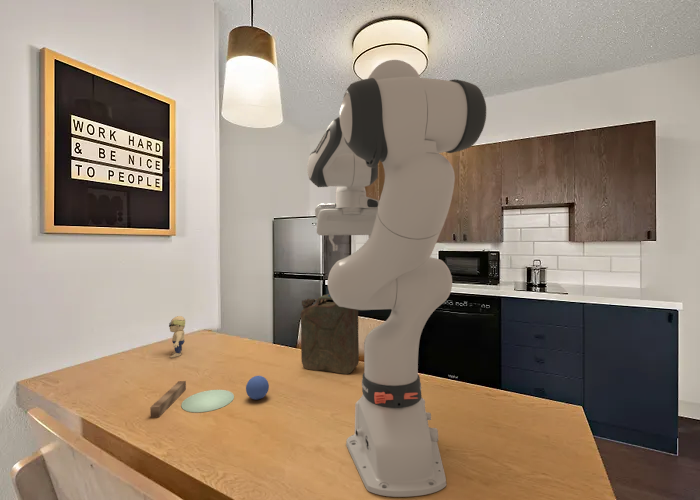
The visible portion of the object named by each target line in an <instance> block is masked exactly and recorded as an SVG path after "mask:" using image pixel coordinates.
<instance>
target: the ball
mask: <svg viewBox="0 0 700 500" xmlns="http://www.w3.org/2000/svg"><path fill="white" fill-rule="evenodd" d="M269 389H270V384H269V381H268V379H267V378H265V377H264V376H263V375H255V376H253V377H251V378H250V379H249V380H248V381H247V383H246V385H245V391H246V394H247V396H248V397H249V398H250V399H252V400H256V401H257V400H261V399H263V398H264V397H265V396H266V395H267V394H268V392H269Z"/></svg>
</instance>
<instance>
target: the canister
mask: <svg viewBox="0 0 700 500" xmlns="http://www.w3.org/2000/svg"><path fill="white" fill-rule="evenodd" d="M328 300H330V301H328ZM314 303H315V304H314ZM301 306H302V310H301V312H300V328H301V329H300V347H301V348H300V349H301V351H300V352H301V354H300V355H301V364H302V366H303V368H305V369H306V370H311V371H320V372H321V371H324V372H330V373H335V374H343V375H347V374H348V375H349V374H351V373H352V372H353V371H354V370H355V369H356V368H357V367H358V365H359V362H360V361H359V360H360V356H359V355H360V353H359V352H360V351H359V350H360V349H359V346H360V345H359V310H357V309H350V308H344V307H339V306H338V305H337V304H336V303H335V302H334V301H333V299H332V298H331V296H330V293H327V294H323V295H321V296H318V298H315V299H314V298H307V299H304V300H301Z"/></svg>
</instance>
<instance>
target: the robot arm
mask: <svg viewBox="0 0 700 500" xmlns="http://www.w3.org/2000/svg"><path fill="white" fill-rule="evenodd" d="M342 98H343V99H342V102H341V105H340V110H339V116H338V117H336V118H335V119H333V120H332V121H331V122H330V123H329V125H328V126H327V128H326V130H325V132H324V134H323V135H322V137H321V139H320V141H319V142H318V144H317V146H316V148H314V149H313V150H312V152H311V153H310V154H309V157H308V159H307V175H308V179H309V181H311V183H312V184H314V185H315V186H316V187H318V188H328V187H336V190H335V203H332V202H331V203H324V202H322V203H320V204H318V205H317V206H316V207H315V209H314V211H315V212H314V214H315V217H316V219H317V221H316V234H317V235H318V236H328V240H329V242H330V244H331V245H332V252H338V251H339V244H336V243H335V242H334V241H333V240H334V238H335V236H368V239H367V240H366V241H365V243H364V244H363V245H361V247H360V248H358V249H357V250H355V252H353V253H352V254H350V255H348V256H346V257H343V258H341V259H339V260H337V261H336V262H335V263H334V265H333V266H332V267H331V269H330V270H329V273H328V276H327V277H328V278H327V289H328V294H330V296H331V298H332V299H333V300H332V302H335V303H336V304H337V305H338V306H339V307H344V308H350V309H357V310H358V311H371V310H372V311H373V310H374V311H375V310H391V312H390V314H389V316H388V318H387V319H386V320H385V321H383V323H381V324H379V325H377V326H375V327H374V328H373V329H371V330H370V331H369V332H368V334H367V335H366V336H365V339H364V342H363V349H364V350H363V351H364V352H363V355H364V357H363V358H364V359H363V360H364V361H363V364H364V367H363V368H364V369H363V370H364V371H363V373H362V377H361V378H362V379H361V387H362V389H361V391H362V395H361V397H360V398H359V399H358V400H357V401H356V402H355V404H354V405H355V406H354V407H355V409H354V410H355V411H354V434H352V435H350V436H348V437H347V438H346V442H345V446H346V448H347V450H348V452H349V454H350V456H351V458H352V460H353V463H354V465H355V468H356V469H357V471H358V474H359V476H360V478H361V480H362V482H363V485H364V487H365V489H366V490H367V491H368V492H370V493H372V494H376V495H380V496H384V497H385V496H386V497H394V498H395V497H396V498H397V497H398V498H402V497H403V498H404V497H405V498H407V497H408V498H409V497H418V496H419V497H420V496H424V495H430V494H434V493H436V492H439V491H441V490H443V489H444V488H445V487H446V486H447V480H446V479H447V478H446V473H445V469H444V465H443V461H442V458H441V453H440V449H439V444H438V442H439V429H438V428H436V427H431V426H430V427H429V421H431V420H432V414H431V412H427V411H426V401H425V399H424V398H423V396H422V383H421V377H420V375H419V370H418V369H419V365H418V364H419V348H420V340H421V335H422V333H423V329H424V328H425V325H426V323H427V321H428V320H429V318H430V317H431V315H432V314H433V312H435V311H436V309H438V308H439V307H440V306H441V305H442V304H444V303H445V302H446V301H447V299H448V298H449V297H450V294H451V292H452V288H453V277H452V274H451V271H450V269H449V267H448V266H447V264H446V263H445V261H444V260H442V259H439V258H435V257H431V255H432V254H433V251H434V249H435V247H436V244H437V241H438V240H439V237H440V234H441V232H442V229H443V228H444V225H445V223H446V220H447V217H448V214H449V210H450V207H451V204H452V199H453V195H454V188H455V181H456V175H455V170H454V167H453V164H452V163H451V162H450V161H449V159H448V158H447V157H446V156H444V155H443V154H441V153H446V154H452V153H457V152H461V151H464V150H467V149H469V148H471V147H473V146H474V145H475V144H476V143H477V141H478V140H479V138H480V137H481V135H482V133H483V130H484V128H485V125H486V120H487V102H486V99H485V97H484V94H483V92H482V90H481V89H480V88H479V86H477V85H476V84H473V83H471V82H468V81H465V80H460V79H457V78H456V79H450V80H446V79H440V78H438V79H437V78H430V77H429V78H426V77H421V76H420V74H419V73H418V71H417V70H416V69H415V67H413V65H411V64H409V63H408V62H405V61H403V60H399V59H390V60H386V61H383V62H381V63H379V64H378V65H377V66H376V67H375V68H374V69H373V70H372V72H370V74H369V76H368V77H367V78H365V79H360V80H357V81H353V83H350V84H349V86H348V87H347V88H346V90H345V92H344V94H343V97H342ZM379 162H381V164H382V166H383V170H384V182H383V187H382V191H381V194H380V196H379V200H378V199H376V198H372V197H369V196H367V191H366V187H370V186H371V185H372V184H374V182H376V181H377V179H378V177H379Z"/></svg>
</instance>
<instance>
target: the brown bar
mask: <svg viewBox="0 0 700 500" xmlns="http://www.w3.org/2000/svg"><path fill="white" fill-rule="evenodd" d="M186 381H187V380H181V381H180V380H179V381H177V382H176V383H175V384H174V385H173V386H172V387H171V388H169V389H168V391H165V393H164V394H163V395H162V396H161V397H159V399H158V400H156V401H155V402H154V403H153V404H152V405H151V406H150V407H149V408H150V409H149V410H150V418H160V417H161V416H162V415H163V414H164V413H165V412H166V411H167V410H168V409H169V407H170V406H171V405H172V404H173V403H174V402H175V401H176V400H177V399H179V397H180V396H182V394H183V393H184V392H185V391H186V390H187V382H186Z"/></svg>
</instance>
